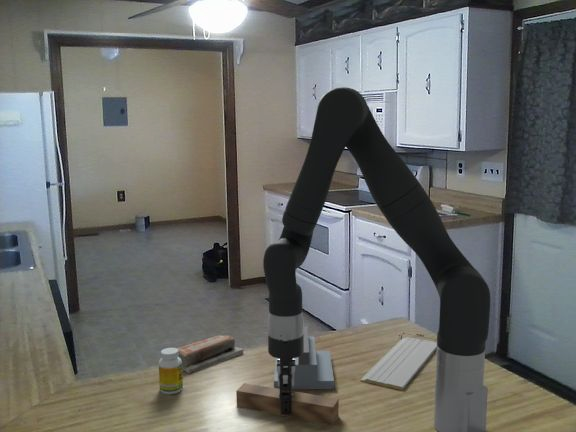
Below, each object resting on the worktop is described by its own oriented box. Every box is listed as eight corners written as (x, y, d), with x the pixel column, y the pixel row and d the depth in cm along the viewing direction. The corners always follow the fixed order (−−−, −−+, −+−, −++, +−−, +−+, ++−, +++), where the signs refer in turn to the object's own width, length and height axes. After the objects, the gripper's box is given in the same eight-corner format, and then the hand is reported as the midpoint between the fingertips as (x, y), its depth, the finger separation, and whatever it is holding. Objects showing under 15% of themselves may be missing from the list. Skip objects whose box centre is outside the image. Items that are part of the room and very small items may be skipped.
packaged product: (188, 357, 146) (165, 346, 152) (189, 375, 146) (166, 364, 153) (243, 337, 158) (220, 328, 165) (244, 354, 159) (220, 345, 166)
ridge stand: (329, 358, 155) (329, 325, 154) (334, 389, 137) (334, 352, 136) (276, 358, 155) (276, 325, 154) (273, 389, 137) (273, 352, 136)
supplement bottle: (160, 385, 140) (158, 347, 138) (182, 383, 141) (181, 345, 139) (159, 395, 135) (157, 356, 133) (183, 393, 136) (181, 354, 134)
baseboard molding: (354, 382, 142) (402, 393, 136) (354, 370, 142) (402, 381, 136) (397, 340, 169) (439, 347, 163) (398, 330, 168) (439, 337, 162)
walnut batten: (338, 416, 125) (338, 398, 124) (333, 425, 121) (333, 407, 121) (244, 399, 133) (244, 383, 132) (236, 407, 129) (236, 390, 128)
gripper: (269, 320, 131) (270, 392, 134) (266, 344, 117) (267, 424, 120) (303, 320, 131) (303, 392, 134) (303, 344, 117) (304, 424, 120)
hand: (286, 406), depth 127 cm, fingers closed on walnut batten, 5 cm apart
